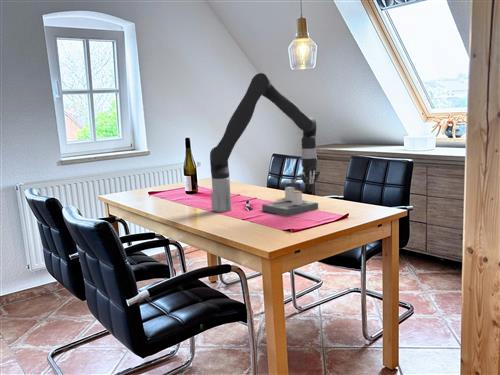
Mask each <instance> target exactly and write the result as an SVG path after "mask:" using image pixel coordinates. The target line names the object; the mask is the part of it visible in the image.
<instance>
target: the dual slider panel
mask: <svg viewBox="0 0 500 375" xmlns="http://www.w3.org/2000/svg"><path fill="white" fill-rule="evenodd" d="M261 207H262V208H261V210H262V211H263V212H264V211H265V212H268V213H273V214H278V215H281V216H286V217H287V216H288V217H289V216H293V215H297V214H301V213H306V211H307V212H310V211H309V210H311V211H314V209H315V210H319V202H315V201H314V202H313V201H309V200H303V199H302V205H294V204H292V201H288V200H285V199H284V200H279V201H274V202H269V203H264V204H262V205H261Z"/></svg>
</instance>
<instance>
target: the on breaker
mask: <svg viewBox="0 0 500 375" xmlns="http://www.w3.org/2000/svg"><path fill="white" fill-rule="evenodd" d="M292 191H294V188H293V187H286V188H285V187H284V200H288V201H292Z"/></svg>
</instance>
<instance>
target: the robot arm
mask: <svg viewBox="0 0 500 375" xmlns="http://www.w3.org/2000/svg"><path fill="white" fill-rule="evenodd" d="M261 96H262V97H264V98H266V99H267V100H269V101H270V102H272V104H274V105H275V106H276V107H277V108H278V109H279V110H280V111H281V112H282V113H283V114H285V115H286V116H287V117H288V118H289V119H290V120H291V121H292V122H293V123H294V124H295V125H296V126H297V127H298V129H300V130H301V131H302V137H301V140H300V141H301V152H300V153H301V154H300V155H301V166H302V172H301V173H300V174H298V176H299V177H300V179H301V180H302V182H303V183H304V184H306V189H307V191H308V192H313V191H314V183H316V182H317V180H318V178H319V176H320V174H321V172H320V171H319V170H317V165H318V163H317V162H318V161H317V160H318V158H317V155H318V154H317V148H316V145H317V144H316V143H317V142H316V135H317V120H316V119H315V118H314V117H312V116H308V115H306V114H305V113H304V112H303V110H302V109H301V108H300V107H299V106H298V104H296V103H294V101H292V100H291V99H290V98H288V97H287V96H285V95H284V94H282V93H281V92H280V91H279V90H278V89H277V88H276V87H275V86H274V85H273V84H272V81H271V79H270V78H269V76H268V75H267V74H265V73H263V72H259V73H257V74H255V75H254V76H253V77H252V78H251V81H250V83H249V85H248V88H247V90H246V92H245V94H244V96H243V98H242V99H241V100H240V102H239V104H238V105H237V107H236V108H235V110H234V112H233V113H232V115H231V117H230V119H229V120H228V123H227V125H226V128H225V131H224V134H223V136H222V138H221V139H220V141H219V142H218V143H217V145H216V146H214V147H213V148H211V150H210V151H209V152H210V153H209V162H210V163H209V165H210V174H211V176H210V177H211V190H212V192H211V193H210V200H211V211H212V212H216V213H225V212H230V211H231V210H232V200H231V199H232V198H231V196H232V195H231V180H230V179H231V178H230V168H229V158H230V157H231V154H232V151H233V150H234V148H235V146H236V144H237V142H238V141H239V139H240V138H241V137H242V135H243V133H244V132H245V131H246V129H247V127H248V126H249V123H251V120H252V117H253V115H254V112H255V109H256V106H257V103H258V102H259V100H260V98H261Z"/></svg>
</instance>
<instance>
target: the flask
mask: <svg viewBox="0 0 500 375" xmlns="http://www.w3.org/2000/svg"><path fill="white" fill-rule="evenodd" d="M286 187H293V188H294V191H296V190H297V191H301V183H300V182H298V181H295V179H291V180H290V181H289V182H284V189H285V188H286Z"/></svg>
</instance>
